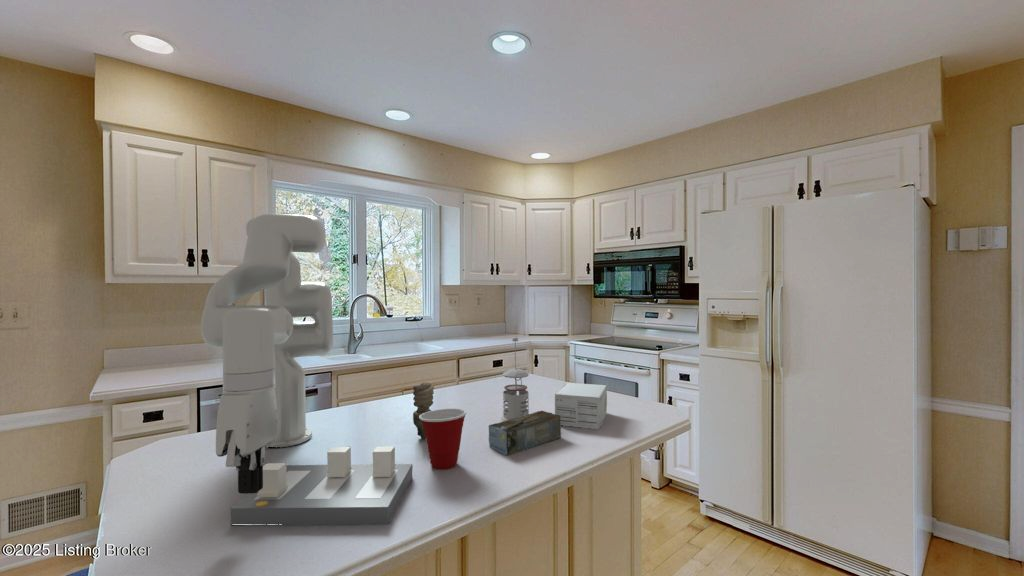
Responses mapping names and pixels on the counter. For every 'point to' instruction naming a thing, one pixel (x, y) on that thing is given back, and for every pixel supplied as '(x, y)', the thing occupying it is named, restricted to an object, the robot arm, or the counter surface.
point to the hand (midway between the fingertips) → (250, 491)
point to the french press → (515, 394)
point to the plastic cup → (443, 436)
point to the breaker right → (383, 461)
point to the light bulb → (422, 404)
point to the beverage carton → (524, 432)
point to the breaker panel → (328, 498)
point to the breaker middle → (339, 461)
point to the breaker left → (273, 480)
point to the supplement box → (581, 405)
